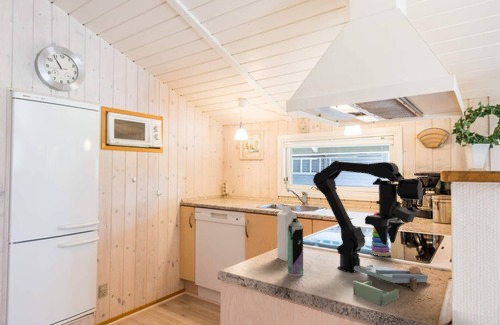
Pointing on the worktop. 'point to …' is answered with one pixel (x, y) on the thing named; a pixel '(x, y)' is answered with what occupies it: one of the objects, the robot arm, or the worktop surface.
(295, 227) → the spray can
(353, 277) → the worktop surface
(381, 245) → the stacking toy
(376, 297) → the tray
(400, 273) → the grey flat rectangular piece
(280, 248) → the milk
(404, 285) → the stand
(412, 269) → the ball
